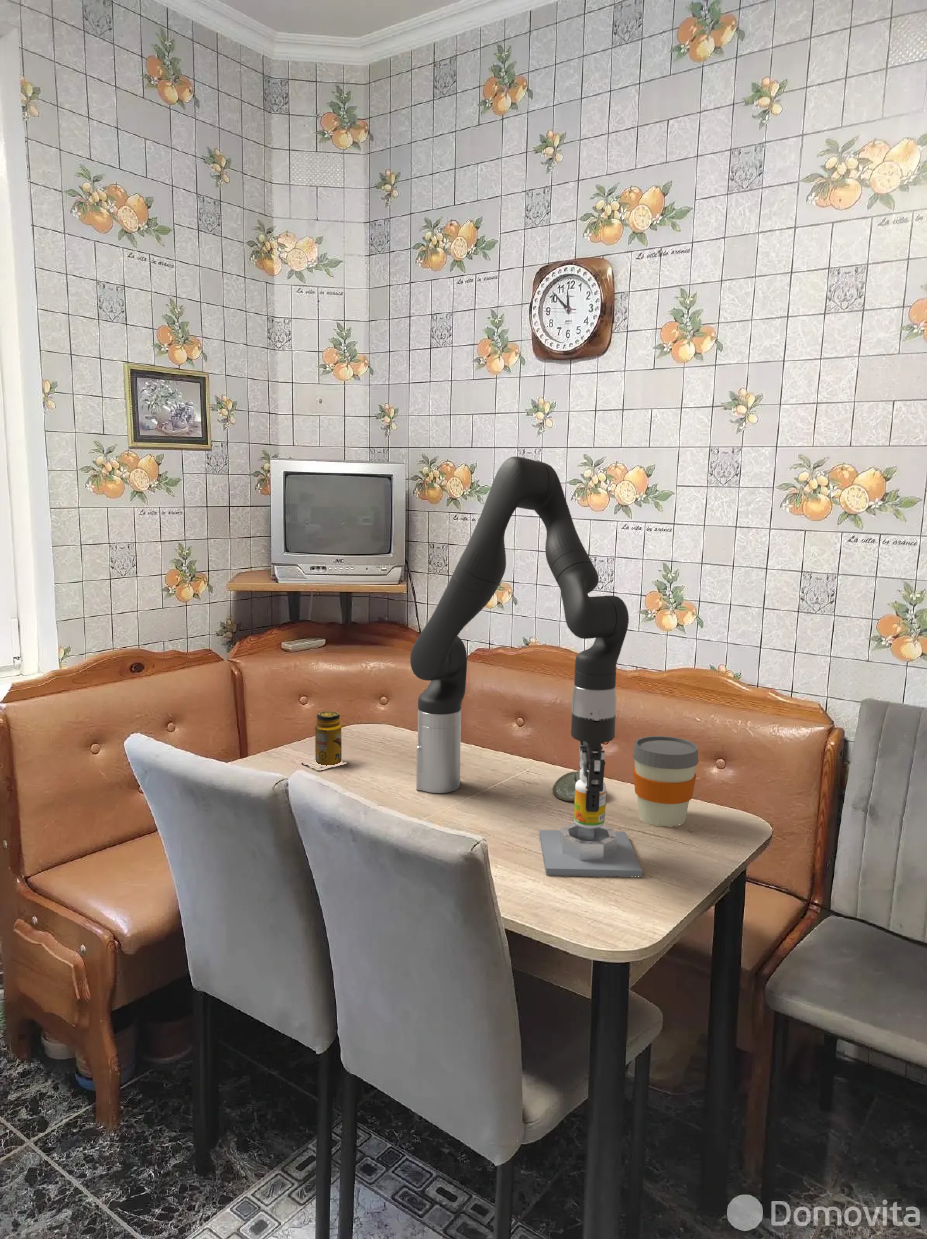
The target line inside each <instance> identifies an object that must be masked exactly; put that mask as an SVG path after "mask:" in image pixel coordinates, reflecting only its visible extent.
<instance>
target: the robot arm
mask: <svg viewBox="0 0 927 1239" xmlns="http://www.w3.org/2000/svg"><path fill="white" fill-rule="evenodd" d="M517 508H518V509H525V510H530V511H534V512H535V513H536V514H537V515H538V516H539V519H541V521H542V522H543V524H544V527H545V530H546V537H545V538H546V539H545V547H544V549H545V551H544V553H545V558H546V562H547V565H548V567H549V570H550V571H551V573H552V575H553V578H554V581H555V582H556V584H557V586H558V587H559V589H560V593H561V599H562V600H561V601H562V605H563V610H564V611H563V612H564V618H565V623H566V626H567V628H568V629H569V631H570V632H571V633H572V635H574V636H575V637H577V638H579V639H582V640H583V639H584V640H586V639H587V640H589V639H594V642H593V644H592V646H590V647H589V648H586V649H585V650H582V651H580V652H578V653H577V654H576V657H575V660H574V678H573V679H574V683H573V692H572V698H571V716H570V717H571V720H570V721H571V723H570V725H571V726H570V736H571V737H572V738H573V739H574V740H576V741H578V742H579V743H580V744H579V749H578V752H579V766H578V767H579V770H580V769H581V768H583V776H584V777H585V778H586V786H585V789H586V807H585V808H586V811H587V812H598V810H599V794H600V792H602V791H603V782H604V776H605V766H606V761H605V760H606V754H605V750H604V749H603V744H604V743H609V742H612V741H613V740H614V739H615V736H616V735H615V734H616V714H617V692H616V685H617V684H616V683H617V663H618V659H619V657H620V654H621V651H622V648H623V645H624V641H625V638H626V637H627V636H626V635H627V631H628V630H629V629H628V628H629V620H630V619H629V618H630V617H629V611H628V608H627V605H626V603H625V602H624V600H623V599H622V598H620V597H619V596H617V595H599V596H598V595H597V596H589V595H588V594H591V593H592V592H593V591H594V590H595V589H596V587H597V586H598V585H599V580H600V578H599V573H598V572H597V570H596V567H595V565H594V563H593V562H592V559H591V558H590V556H589V554H588V553H587V552H588V551H587V550H586V549H585V547H584V544H583V542H582V541H581V538H580V537H579V534H578V532H577V529H576V527H575V523H574V521H573V518H572V515H571V510H570V508H569V505H568V503H567V499H566V496H565V492H564V490H563V486H562V484H561V480H560V478H559V476H558V473H557V472H556V470H555V469H554V468H553V466H552V465H550V464H548V463H546V462H543V461H539V460H535V459H529V458H526V457H522V456H510V457H509V458H507V459H505V460H504V461H503V462H502V463H501V465H500V467H499V468H498V470H497V471H496V473H495V476H494V478H493V481H492V484H491V486H490V489H489V492H488V495H487V498H486V500H485V502H484V505H483V508H482V510H481V513H480V516H479V518H478V521H477V523H476V525H475V527H474V530H473V532H472V533H471V536H470V539H469V541H468V543H467V544H466V547H465V549H464V551H463V552H462V554H461V556H460V557H459V560H458V562H457V564H456V566H455V568H454V570H453V573H452V575H451V577H450V578H449V579H450V580H449V582H448V584H447V586H446V588H445V590H444V592H443V594H442V595H441V598H440V600H439V601H438V604H436V605H437V606H436V608H435V609H434V612H433V613H432V614H431V617H430V618H429V620H428V622H427V623H426V624H425V626H424V628H423V629H422V631H421V632H420V634H419V635H418V637H417V639H416V640H415V642H414V644H413V646H412V648H411V651H410V656H409V659H410V660H409V661H410V668H411V671H412V672H413V674H414V675H415V676H416V677H417V678H418V679H420V680H421V681H427V682H428V681H429V682H430V683H429V684H428V686H427V687H426V688H425V690H424V691H423V692H422V693H420V695H419V696H418V698H417V744H416V790H417V791H424V792H426V793H433V794H445V793H452V792H454V791H456V790H458V789H460V786H461V747H462V746H461V745H462V744H461V742H462V741H461V736H462V735H461V734H462V733H461V731H462V730H461V729H462V728H461V726H462V702H463V700H464V698H465V694H466V685H467V684H466V683H467V670H468V669H467V668H468V654H467V649H466V646H465V642H464V641H463V640H462V638H460V637H459V636H458V635H460V633H461V631H462V630H463V629H464V628H465V627H466V626H467V625H468V624H469V623H470V622H471V621H472V620H473V619H474V618H475V617H476V616H477V615H478V614H479V613H480V612H481V611H482V610H483V609H484V608H485V607H486V606H487V605H488V603H489V602H490V601H491V599H492V598H493V596H494V595H495V593H496V590H497V589H498V587H499V586H500V583H501V582H502V579H503V577H504V575H505V573H506V569H507V568H506V567H507V555H506V546H505V534H506V530H507V527H508V525H509V523H510V520H511V518H512V516H513V514H514V512H515V510H516V509H517ZM587 770H589V772H588V771H587ZM592 780H597V784H592Z"/></svg>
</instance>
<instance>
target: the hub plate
mask: <svg viewBox="0 0 927 1239" xmlns="http://www.w3.org/2000/svg"><path fill="white" fill-rule="evenodd" d="M538 831H539V832H538V833H539V835H538V837H539V842H540V846H541V847H540V848H541V853H542V857H543V865H544V870H545V875H546V876H563V877H564V876H571V877H572V876H573V877H606V876H609V877H611V878H612V876H613V878H614V876H619V877H618V878H620V877H621V878H642V877H643V876H642V874H643V870H642V867H641V865H640V862H639V861H638V858H637V856H636V853H635V851H634V849H633V846H632V844H631V840H630V839H629V837H628V835H627V832H626V831H615V830H614V831H615V834H616V837H617V854H616V855H614V856H612V857H610V858H608V859H606V860H604V861H580V860H578V859H575V858H573V857H570V856H568V855H566V854H563V853H562V849H561V844H560V835H561V829H539V830H538ZM631 876H633V877H631ZM635 876H636V877H635ZM638 876H639V877H638ZM641 876H642V877H641Z"/></svg>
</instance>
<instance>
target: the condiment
mask: <svg viewBox="0 0 927 1239" xmlns="http://www.w3.org/2000/svg"><path fill="white" fill-rule="evenodd" d="M340 718H341V716H340V713H339V712H337V711H332V710H326V711H321V712H318V713H317V715H316V725H315V727H314V736H315V737H314V740H315V742H314V744H315V745H314V749H315V750H314V751H315V753H314V755H315V756H314V757H315V759H314V760H316V762H317V763H318V764H321V765H326V766H327V765H335V764H338V763H340V762H341V760H342V755H343V754H342V750H343V748H342V747H343V746H342V725H341V723H340V722H341V720H340ZM342 761H343V760H342Z"/></svg>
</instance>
